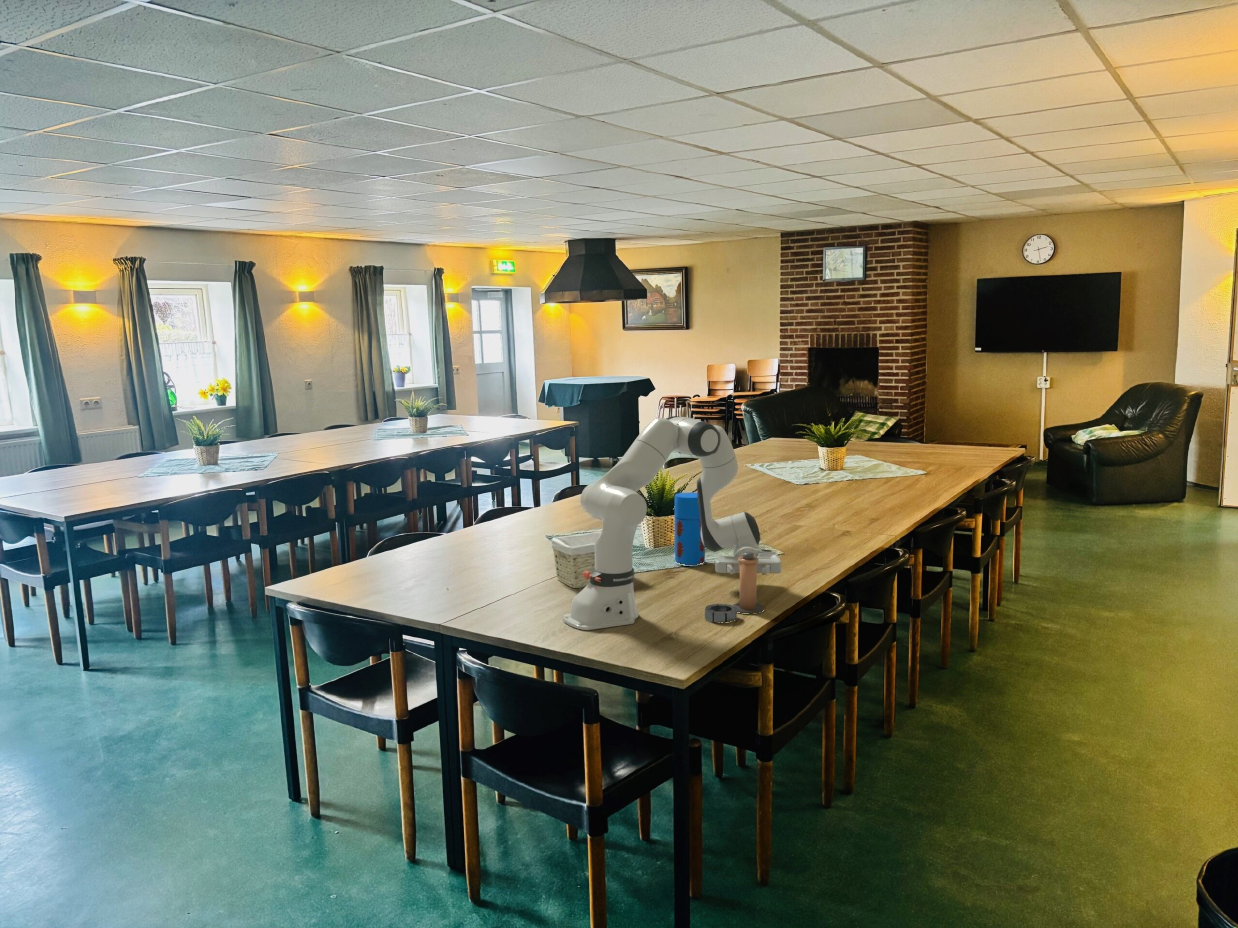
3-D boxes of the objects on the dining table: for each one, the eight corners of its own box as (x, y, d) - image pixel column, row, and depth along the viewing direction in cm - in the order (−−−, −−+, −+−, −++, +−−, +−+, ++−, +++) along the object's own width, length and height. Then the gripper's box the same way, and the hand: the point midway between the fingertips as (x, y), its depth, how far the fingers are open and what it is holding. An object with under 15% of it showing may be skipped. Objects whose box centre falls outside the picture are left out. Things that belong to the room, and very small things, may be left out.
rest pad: (746, 616, 257) (746, 614, 257) (724, 608, 265) (724, 606, 265) (771, 610, 262) (771, 608, 262) (749, 602, 271) (749, 600, 271)
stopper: (746, 611, 260) (747, 556, 257) (733, 606, 265) (734, 552, 262) (762, 608, 263) (762, 553, 260) (748, 603, 268) (749, 549, 265)
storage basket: (570, 590, 286) (569, 546, 284) (550, 579, 300) (549, 536, 298) (635, 580, 297) (634, 537, 295) (612, 569, 311) (611, 528, 309)
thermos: (668, 563, 318) (668, 495, 315) (688, 557, 326) (688, 491, 322) (691, 568, 310) (691, 499, 307) (711, 562, 318) (711, 494, 314)
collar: (718, 625, 249) (718, 615, 249) (699, 617, 257) (699, 607, 257) (743, 619, 254) (743, 609, 254) (723, 611, 262) (723, 601, 261)
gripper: (714, 549, 279) (713, 561, 266) (780, 550, 277) (782, 562, 263) (714, 569, 280) (713, 581, 267) (779, 570, 278) (782, 582, 264)
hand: (748, 571), depth 265 cm, fingers open, 8 cm apart
